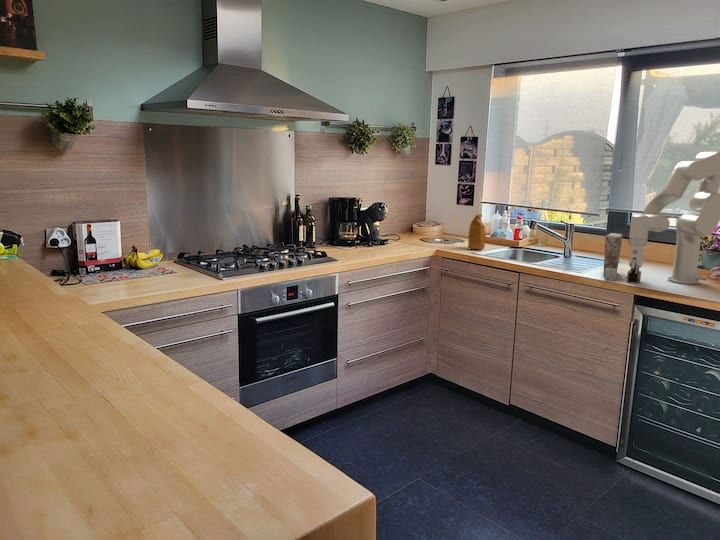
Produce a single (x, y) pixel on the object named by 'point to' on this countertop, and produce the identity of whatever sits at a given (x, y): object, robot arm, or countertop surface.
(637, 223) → the robot arm
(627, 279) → the walnut cube
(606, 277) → the slate grey cube
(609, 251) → the stone block
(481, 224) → the coffee package
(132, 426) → the countertop surface
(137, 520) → the countertop surface
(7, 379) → the countertop surface
